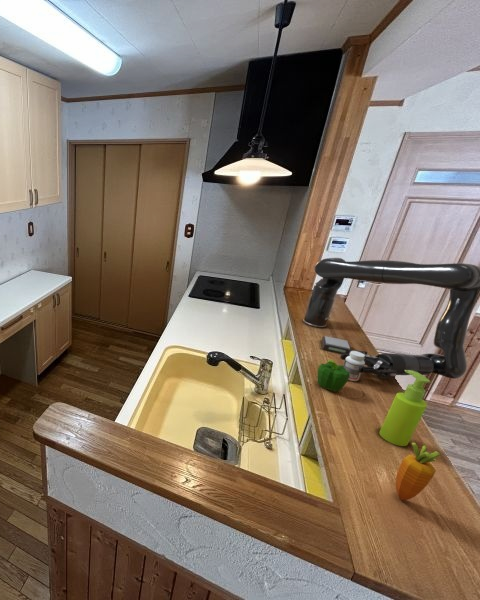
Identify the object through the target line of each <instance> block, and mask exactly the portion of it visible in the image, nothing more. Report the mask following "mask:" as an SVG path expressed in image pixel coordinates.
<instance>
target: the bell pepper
mask: <svg viewBox="0 0 480 600" xmlns="http://www.w3.org/2000/svg"><path fill="white" fill-rule="evenodd" d="M326 361H327V362H326V363H321V364H320V365H319V366H318V368H317V375H316V376H317V377H316V378H317V384H318V386H319V387H320V388H322V389H327V390H329V391H331V392H339V391H341V390H342V389H343V388H344V387H345V386H346V384H347V383H348V381H349V380H348V379H349V377H350V375H349V372H348V371H346V369H345V368H344V367H343V365H341V364H337V362H335V361H334V360H331V359H330V360H329V359H328V360H326Z"/></svg>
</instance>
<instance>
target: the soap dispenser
mask: <svg viewBox="0 0 480 600" xmlns="http://www.w3.org/2000/svg"><path fill="white" fill-rule="evenodd" d="M405 372H407V373H409V374H411V375H410V376H412V377H414V378H415V379H414V382H413V384H412V383H411V384H408V385H407V386H406V388H405V390H404V392H397V393H396V394H395V397H394V398H393V401H392V403H391V405H390V408H389V410H388V411H387V414H386V416H385V418H384V421H383V423H382V425H381V427H380V429H379V436H380V437H381V438H382V439H384V440H385V441H386V442H388V443H390V444H392V445H395V446H399V447H406V446H408V445H409V443H410V441H411V439H412V437H413V435H414V433H415V430H416V429H417V427H418V426H419V422H420V421H421V418H422V417H423V414H425V413H424V412H425V411H426V409H427V407H428V403H427V402H426V400H424V396H425V394H426V391H427V390H426V389H425V388H424V386H425V384H430V383H431V380H430V379H429V378H427V377H426V376H425V375H421V374H420V373H418V372H415V371H412V370H405Z"/></svg>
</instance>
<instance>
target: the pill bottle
mask: <svg viewBox="0 0 480 600" xmlns="http://www.w3.org/2000/svg"><path fill="white" fill-rule="evenodd" d="M357 351H358V350H354V351H351V352H350V356H348V357H346V359H345V360H344V362H343V365H342V366H343V367H344V368H345V369H346V371H348V372H349V375H350V377H349V379H348V381H352V382H357V381H359V380H360V377H361V375H362V373H360V372H359V371H358V370H359V368H360V367H361V366H366V365H365V362H364V359H365V358H364V357H365V355H364V354H363V353H360V352H357Z"/></svg>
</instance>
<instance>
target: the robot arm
mask: <svg viewBox="0 0 480 600" xmlns="http://www.w3.org/2000/svg"><path fill="white" fill-rule="evenodd" d="M314 273H315V274H316V275H317V276H319V277H320V279H319V280H318V281H317V282H315V283H314V285H313V287H312V292H311V295H310V298H309V302H308V304H307V309H306V311H305V315H304V318H303V320H302V321H303V323H304V324H306V325H308V326H311V327H314V328H326V327H327V324H328V321H329V320H330V319H331V316H330V315H331V312H332V309H333V306H334V303H335V299H336V296H337V293H338V291H339V289H340V288H341V287H342V286H343V283H344V280H345V279H349V280H355V281H356V280H357V281H360V282H361V281H363V282H367V283H368V282H370V283H376V284H387V285H423V286H428V287H429V286H430V287H436V288H441V289H447V290H449V297H448V301H447V304H446V307H445V309H444V311H443V312H442V314H441V316H440V317H439V320H438V322H437V325H436V328H435V332H434V337H433V345H434V347H436V348H437V349H440V350H441V351H442V353H443V354H439V353H423V354H406V353H390V352H389V353H388V352H387V353H386V352H383V353H382V352H381V353H379V354H377V355H375V356H374V355H370V354H368V351H366V350H356V351H357V352H360V353H363V354H364V355H365V357H364V362H365V365H364V366H361V367H360V368H359V370H358V371H359V372H360V373H361V374H370V375H373V376H376V377H377V378H379V379H395V378H396V377H397V376H412V375H411V374H409V373H407V372H405V370H412V371H415V372H418V373H420V374H421V375H423V376H426V375H430V374H435V375H439V376H441V377H445V378H448V379H452V380H453V379H455V380H456V379H460V378H461V377H463V376H464V375H465V374H466V372H467V369H468V363H467V358H466V352H465V348H464V345H465V341H466V337H467V331H468V326H469V322H470V318H471V316H472V312H473V309H474V306H475V304H476V301H477V299H478V297H479V294H480V266H479V265H477V264H471V263H462V262H456V263H429V264H428V263H427V264H426V263H415V262H409V261H401V260H388V259H387V260H386V259H376V260H375V259H371V260H358V261H357V260H356V261H347V260H345V259H343V258H342V257H328V258H323V259H321V260H319V261H318V262H317V263H316V264H315V266H314ZM351 351H355V350H352V349H351V350H350V352H351ZM350 352H349V354H341V355H340V359H341V360H343V361H345V359H346V357H348V356H350Z"/></svg>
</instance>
